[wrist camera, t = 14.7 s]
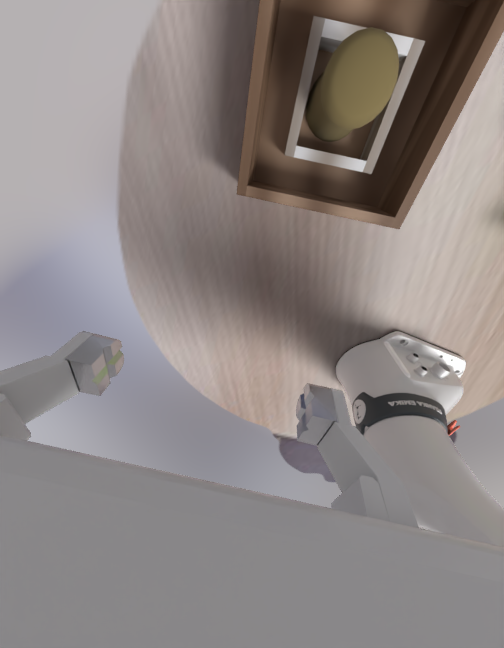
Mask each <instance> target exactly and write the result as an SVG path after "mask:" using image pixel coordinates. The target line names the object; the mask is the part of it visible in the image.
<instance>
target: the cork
mask: <svg viewBox="0 0 504 648" xmlns="http://www.w3.org/2000/svg"><path fill="white" fill-rule="evenodd" d="M398 70H399V57H398V50H397V47H396V45H395V43H394V41H393V39H392V37H391V36H390V35H388V34H387V33H386V32H385V31H384V30H382V29H377V28H373V27H370V28H366V29H362V30H358V31H356V32H354V33H353V34H351V35H350V36H348V37H347V38H346V39H344V40H343V41H342V43H341V44H340V45H339V46H338V47H337V49H336V50H335V51H334V52H333V54H332V56H331V58H330V60H329V62H328V64H327V67H326V69H325V72H323V73H322V74H321V75H320V77H319V78H318V79H317V80H316V81H315V83H314V85H313V87H312V89H311V91H310V93H309V97H308V101H307V105H306V118H307V121H308V125H309V128H310V130H311V131H312V133H313V134H314V136H316V137H317V138H319V139H320V140H322V141H326V142H333V141H339V140H340V139H342V138H344V137H346V136H347V135H348V134H349V133H350V132H351V131H352V130H353V129H356V128H360V127H362V126H364V125H366V124H367V123H369V122H371V121H372V120H373V119H374V118H375V117H376V116H377V115H378V114H379V113H380V112H381V111H382V110H383V108H384V107H385V105H386V104H387V102H388V101H389V99H390V97H391V95H392V93H393V90H394V87H395V85H396V82H397V77H398Z"/></svg>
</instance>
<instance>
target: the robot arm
mask: <svg viewBox="0 0 504 648" xmlns="http://www.w3.org/2000/svg"><path fill="white" fill-rule="evenodd" d="M401 340H402V341H401ZM121 347H122V344H121V341H120V340H117V339H113V338H110V337H106V336H102V335H97V334H93V333H89V332H85V331H83V332H80V333H78V334H77V335H76V336H75V337H73V338H72V339H71V340H70V341H69V342H67V343H66V344H65V345H64V346H62V347H61V348H60V349H59V350H57V351H56V352H55V353H54V354H53V355H51V356H44V357H41V358H38V359H35V360H32V361H29V362H26V363H23V364H20V365H17V366H15V367H11V368H8V369H5V370H2V371H0V648H504V508H503V507H502V506H501V505H500V504H499V503H498V502H497V501H496V500H495V499H494V498H493V497H492V496H491V495H490V494H489V493H488V491H487V490H486V489H485V488H484V487H483V485H482V484H481V483H480V482H479V480H478V479H477V478H476V476H475V475H474V473H473V472H472V471H471V469H470V468H469V466H468V465H467V463H466V462H465V461H464V459H463V457H462V456H461V454H460V453H459V451H458V450H457V448H456V447H455V445H454V443H453V442H452V440H451V438H450V436H449V435H451V434H452V433H453V432H455V431H456V430H457V429H458V428H459V427H460V426H457V427H455V428H453V427H454V426H455V424H456V423H457V421H456V420H454V421H453V422H451V423H450V424H449V425H448V426H447V420H446V414H447V413H448V412H449V411H450V410H451V409H452V408H453V407H454V406H455V405H456V404H457V403H458V401H459V400H460V398H461V397H462V395H463V390H464V389H463V384H462V382H461V380H460V379H459V378H460V377H461V375H462V374H463V372H464V370H465V366H466V361H465V360H464V358H462V357H461V356H458V355H456V354H454V353H451V352H449V351H446V350H444V349H441V348H439V347H437V346H434V345H432V344H429V343H427V342H424V341H422V340H419V339H417V338H415V337H412V336H410V335H407V334H405V333H402V332H399V331H395V332H392V333H390V334H388V335H386V336H384V337H382V338H381V339H378V340H375V341H370V342H366V343H363V344H360V345H358V346H356V347H354V348H352V349H350V350H349V351H347V352H346V353H345V354H344V355H343V356H342V357H341V358H340V360H339V361H338V363H337V366H336V376H337V378H338V380H339V382H340V383H341V385H342V386H343V388H344V390H345V391H346V393H347V396H348V398H349V400H350V402H351V405H352V409H353V416H354V420H355V424H356V427H355V426H352V424H351V420H350V417H349V413H348V409H347V405H346V401H345V397H344V393H343V392H342V391H341V390H336V389H332V388H327V387H323V386H318V385H314V384H309V383H307V384H306V385H305V387H304V394H301V395H300V397H299V399H298V402H297V408H296V416H297V418H298V419H299V423H298V424H297V441H300V442H304V443H308V444H312V445H316V446H317V448H318V450H319V452H320V453H321V455H322V457H323V459H324V461H325V463H326V464H327V466H328V468H329V470H330V472H331V473H332V475H333V477H334V479H335V481H336V483H337V484H338V486H339V488H340V490H341V492H342V494H341V495H339V497H337V498H336V499H335V500H334V501H333V502H332V503H331V507H332V509H331V508H327V507H322V506H318V505H313V504H309V503H304V502H300V501H295V500H290V499H286V498H282V497H277V496H272V495H269V494H264V493H259V492H255V491H251V490H246V489H242V488H237V487H232V486H228V485H224V484H219V483H215V482H210V481H206V480H201V479H197V478H192V477H188V476H183V475H179V474H174V473H170V472H165V471H161V470H156V469H151V468H147V467H142V466H138V465H134V464H129V463H125V462H120V461H115V460H111V459H107V458H102V457H97V456H93V455H89V454H84V453H80V452H75V451H71V450H66V449H61V448H57V447H52V446H48V445H43V444H39V443H35V442H30V441H27V440H28V439H29V438H30V437H31V433H30V431H29V430H28V428H27V427H26V425H25V424H26V423H28V422H29V421H31V420H33V419H35V418H36V417H38V416H40V415H42V414H43V413H45V412H47V411H49V410H50V409H52V408H54V407H56V406H57V405H59V404H61V403H62V402H64V401H66V400H68V399H70V398H71V397H73V396H75V395H77V394H78V393H79V392H83V393H88V394H93V395H98V396H101V394H102V393H103V392H104V391H105V389H106V388H107V387H108V385H109V384H110V378H112V377H114V376H116V375H117V374H118V373H119V371H120V370H121V368H122V366H123V363H124V355H123V353H122V352H121V351H120V348H121ZM418 526H420V527H422V528H425V529H427V530H425V529H421V528H419V527H418Z"/></svg>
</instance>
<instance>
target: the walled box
mask: <svg viewBox="0 0 504 648" xmlns="http://www.w3.org/2000/svg"><path fill="white" fill-rule="evenodd" d="M370 27H373V28H377V29H382V30H384V31H385V32H386V33H387V34H388V35H390V36H391V37H392V39H393V41H394V43H395V45H396V47H397V50H398V57H399V70H398V77H397V82H396V85H395V87H394V90H393V93H392V95H391V97H390V99H389V101H388V102H387V104H386V105H385V107H384V108H383V110H382V111H381V112H380V113H379V114H378V115H377V116H376V117H375V118H374V119H373V120H372V121H371V122H369V123H367V124H366V125H364V126H362V127H360V128H356V129H353V130H352V131H351V132H350V133H349V134H348V135H347V136H346V137H344V138H342V139H340V140H339V141H333V142H326V141H322V140H320V139H319V138H317V137H316V136H314V134H313V133H312V131H311V130H310V128H309V125H308V121H307V118H306V105H307V101H308V97H309V93H310V91H311V89H312V87H313V85H314V83H315V81H316V80H317V79H318V78H319V77H320V75H321V74H322V73H323V72H325V69H326V67H327V64H328V62H329V60H330V58H331V56H332V54H333V52H334V51H335V50H336V49H337V47H338V46H339V45H340V44H341V43H342V41H343V40H344V39H346V38H347V37H348V36H350V35H351V34H353V33H354V32H356V31H358V30H362V29H366V28H370ZM503 31H504V0H260V2H259V11H258V19H257V27H256V36H255V44H254V52H253V61H252V69H251V77H250V86H249V94H248V103H247V111H246V119H245V128H244V136H243V144H242V153H241V161H240V170H239V178H238V186H237V194H238V195H242V196H247V197H252V198H256V199H261V200H265V201H270V202H275V203H279V204H284V205H289V206H293V207H298V208H303V209H307V210H312V211H317V212H321V213H326V214H331V215H335V216H340V217H345V218H349V219H354V220H358V221H363V222H368V223H372V224H377V225H382V226H386V227H391V228H396V229H400V227H401V225H402V223H403V221H404V219H405V217H406V215H407V214H408V212H409V210H410V208H411V206H412V204H413V202H414V200H415V198H416V196H417V195H418V193H419V191H420V189H421V187H422V185H423V183H424V181H425V179H426V177H427V176H428V174H429V172H430V170H431V168H432V166H433V164H434V162H435V160H436V158H437V157H438V155H439V153H440V151H441V149H442V147H443V145H444V143H445V141H446V139H447V138H448V136H449V134H450V132H451V130H452V128H453V126H454V124H455V122H456V120H457V119H458V117H459V115H460V113H461V111H462V109H463V107H464V105H465V103H466V101H467V100H468V98H469V96H470V94H471V92H472V90H473V88H474V86H475V84H476V82H477V81H478V79H479V77H480V75H481V73H482V71H483V69H484V67H485V65H486V63H487V62H488V60H489V58H490V56H491V54H492V52H493V50H494V48H495V46H496V44H497V43H498V41H499V39H500V37H501V35H502V33H503Z"/></svg>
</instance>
